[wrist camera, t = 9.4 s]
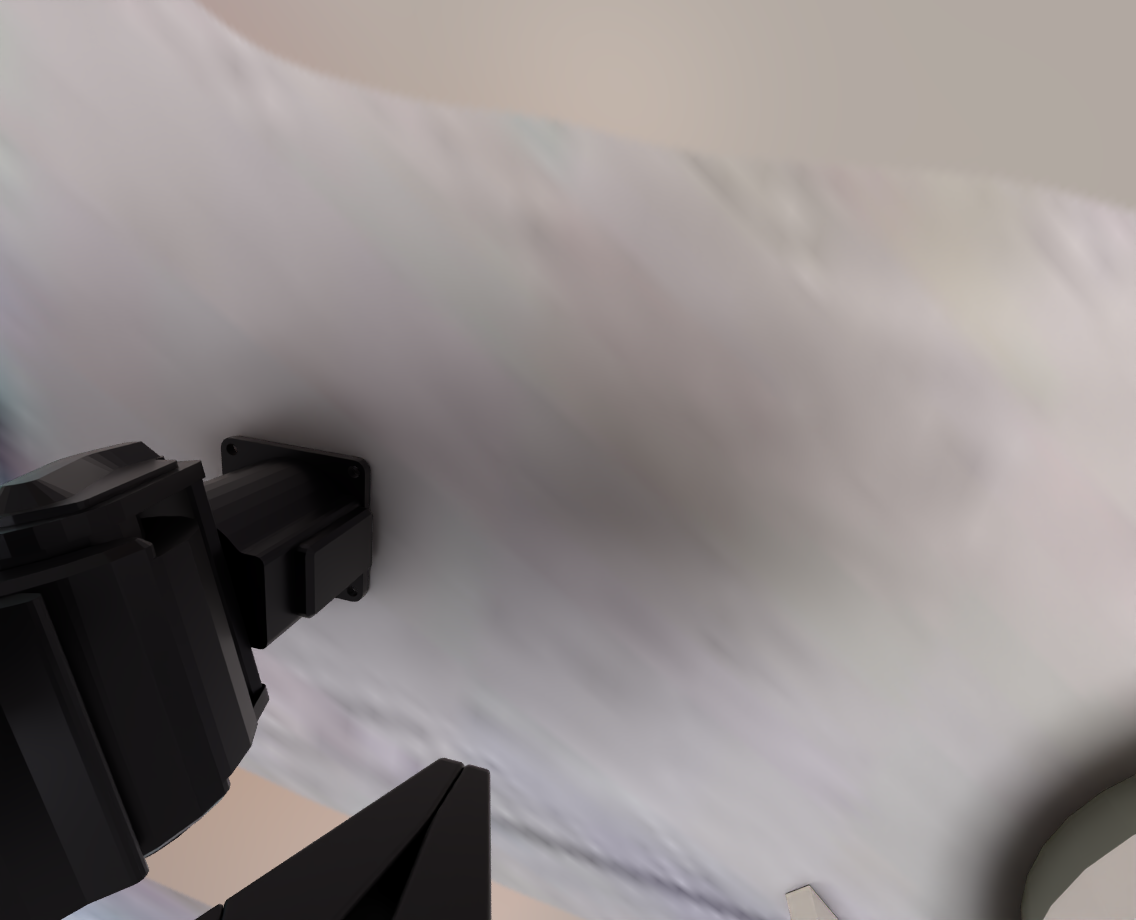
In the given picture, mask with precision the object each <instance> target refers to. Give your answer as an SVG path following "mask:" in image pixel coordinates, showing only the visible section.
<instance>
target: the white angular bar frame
mask: <svg viewBox="0 0 1136 920" xmlns="http://www.w3.org/2000/svg"><path fill="white" fill-rule="evenodd" d="M786 898H787V903H788V907H789V912H790V917H791V920H838V919H837V918H836V916H835V915H834V914H833V913H832V912H831V910H830V909H829V908H828V907H827V906H826V905H825V903H824V902H823V901H822V900H821V899H820V897H819V896H818V895H817V894H816V893H815V892H814V890H813V889H812V888H811V887H810V886H806V887H804V888H801V889H798V890H796V891H793V892H791V893H788V894H786Z"/></svg>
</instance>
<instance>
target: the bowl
mask: <svg viewBox="0 0 1136 920" xmlns="http://www.w3.org/2000/svg"><path fill="white" fill-rule="evenodd" d="M1021 916H1022V920H1136V775H1134V776H1132V777H1130V778H1128V779H1126V780H1124V781H1122V782H1120V783H1118V784H1116V785H1114V786H1113V787H1111V788H1109V789H1107V790H1105V791H1103V792H1101V793H1100V794H1099V795H1097V796H1096V797H1095V798H1093V799H1092V800H1091V801H1090V802H1088V803H1087V804H1086V805H1084V806H1083V807H1082V808H1080V809H1079V810H1078V811H1076V812H1075V813H1074V814H1072V815H1071V816H1070V817H1068V818H1067V820H1066V821H1065V822H1064V823H1063V824H1062V825H1061V826H1060V827H1059V829H1058V830H1057V831H1056V832H1055V833H1054V834H1053V835H1052V836H1051V838H1050V839H1049V840H1048V841H1047V842H1046V843H1045V844H1044V846H1043V847H1042V849H1041V851H1040V853H1039V855H1038V856H1037V858H1036V860H1035V862H1034V864H1033V866H1032V868H1031V870H1030V872H1029V873H1028V875H1027V879H1026V884H1025V888H1024V893H1023V898H1022V902H1021Z"/></svg>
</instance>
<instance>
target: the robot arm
mask: <svg viewBox="0 0 1136 920" xmlns="http://www.w3.org/2000/svg"><path fill="white" fill-rule="evenodd" d="M234 445H235V446H236V448H237V452H236V451H235V449H234ZM221 455H222V471H223V475H222V476H219V477H217V478H214V479H211V480H208V481H206V482H203V480H202V479H203V478H205V473H204V470H203V466H202V463H201V460H194V461H180V462H177V460H165V459H164V456H159V455H158V454H156V453H155V452H154V451H153V450H151V449H150V448H149V447H148V446H146V445H145V444H144V443H143V442H141V441H140V442H127V443H122V444H117V445H113V446H109V447H105V448H101V449H97V450H92V451H88V452H84V453H80V454H77V455H73V456H70V457H66V458H63V459H60V460H57V461H54V462H52V463H50V464H47V465H45V466H43V467H41V468H38V469H36V470H34V471H32V472H30V473H27V474H25V475H23V476H21V477H18V478H16V479H14V480H12V481H10V482H7V483H5V484H3V485H1V486H0V920H61V919H63V918H65V917H66V916H68V915H70V914H72V913H73V912H75V911H77V910H79V909H80V908H82V907H84V906H86V905H88V904H90V903H92V902H94V901H97V900H99V899H102V898H104V897H106V896H109V895H111V894H113V893H116V892H118V891H121V890H123V889H125V888H128V887H130V886H132V885H135V884H137V883H138V882H140V881H141V880H143V879H144V877H145V876H146V875H147V874H148V872H149V868H148V865H147V863H146V860H145V858H146V857H148V856H150V855H152V854H154V853H156V852H157V851H159V850H160V849H162V848H163V847H165V846H166V845H168V844H169V843H170V842H172V841H173V840H175V839H176V838H178V837H179V836H180V835H181V834H182V833H184V832H185V831H186V830H187V829H188V828H189V827H190V826H192V825H193V824H194V823H196V822H197V821H199V820H200V819H201V818H202V817H203V816H204V815H205V814H206V813H207V812H209V811H210V810H211V809H212V808H213V807H214V806H215V805H216V804H217V803H218V802H219V801H220V800H221V799H222V798H223V797H224V795H225V794H226V793H227V791H228V790H229V788H230V781H229V778H228V777H229V776H230V775H231V774H232V773H233V771H234V770H235V769H236V767H237V766H238V764H239V763H240V761H241V760H242V759H243V757H244V756H245V754H246V753H247V751H248V750H249V749H250V747H251V745H252V742H253V739H254V735H255V732H256V728H257V725H258V723H257V721H258V719H259V717H260V716H261V714H262V712H263V710H264V708H265V706H266V705H267V703H268V701H269V695H268V692H267V688H266V685H265V684H261V680H260V677H259V673H258V670H257V666H256V663H255V659H254V656H253V653H252V649H251V647H253V648H257V649H264V648H266V647H267V646H268V645H269V644H271V643H272V642H273V641H274V640H275V639H276V638H278V637H279V636H280V635H281V634H282V633H284V632H285V631H286V630H287V629H288V628H289V627H291V626H292V625H293V624H294V623H295V622H297V621H298V620H299V619H300V618H301V617H305V618H311V617H313V616H314V615H315V614H317V613H318V612H319V611H320V610H321V609H322V608H324V607H325V606H326V605H327V604H328V603H329V602H331V601H332V600H333V599H334V598H339V599H343V600H348V601H354V602H356V601H359V600H360V599H361V598H362V597H364V596H365V594H366V593H367V590H368V568H370V567H371V563H372V520H373V515H372V513H371V511H370V467H369V465H368V463H367V462H366V461H365V460H364V459H361V458H359V457H353V456H347V455H342V454H336V453H331V452H325V451H320V450H314V449H308V448H303V447H297V446H292V445H286V444H281V443H275V442H270V441H264V440H258V439H253V438H247V437H242V436H233V437H229V438H226V439H225V440H223V442H222V444H221ZM354 466H355V467H357V468H358V469H359V472H360V473H359V475H358V474H356V473H355V472H354V469H353V467H354ZM352 586H353V587H355V588H356V589H357V591H358V592H356V591H354V590H353V588H352ZM195 920H491V811H490V772H489V770H487V769H484V768H481V767H477V766H473V765H467V766H464V764H463V763H462V762H458V761H455V760H451V759H447V758H440V759H438V760H436V761H435V762H433V763H432V764H430V765H429V766H427V767H426V768H424V769H423V770H421V771H420V772H418V773H417V774H415V775H414V776H412V777H411V778H409V779H408V780H406V781H405V782H403V783H402V784H400V785H399V786H397V787H396V788H394V789H393V790H391V791H390V792H388V793H387V794H385V795H384V796H382V797H381V798H379V799H378V800H376V801H375V802H373V803H372V804H370V805H369V806H367V807H366V808H364V809H363V810H361V811H360V812H358V813H357V814H355V815H354V816H352V817H351V818H349V819H348V820H346V821H345V822H343V823H342V824H340V825H339V826H337V827H336V828H334V829H333V830H331V831H330V832H328V833H327V834H325V835H324V836H322V837H320V838H319V839H318V840H316V841H314V842H313V843H311V844H310V845H308V846H307V847H306V848H304V849H302V850H301V851H299V852H298V853H296V854H295V855H293V856H292V857H290V858H289V859H287V860H286V861H284V862H283V863H281V864H280V865H278V866H277V867H275V868H274V869H272V870H271V871H269V872H268V873H266V874H265V875H263V876H262V877H260V878H259V879H257V880H256V881H254V882H253V883H251V884H250V885H248V886H247V887H245V888H244V889H242V890H241V891H239V892H238V893H236V894H235V895H233V896H232V897H230V898H229V899H227V900H226V902H225V904H224V908H223V905H221V904H218V905H216V906H215V907H213V908H212V909H210V910H209V911H207V912H206V913H204V914H203V915H201V916H200V917H198V918H197V919H195Z"/></svg>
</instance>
